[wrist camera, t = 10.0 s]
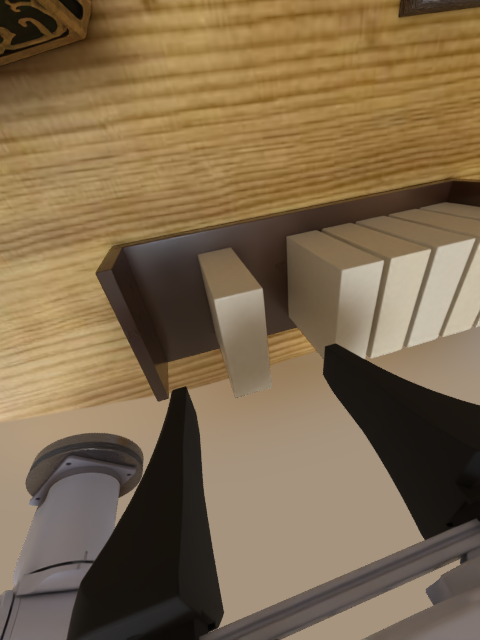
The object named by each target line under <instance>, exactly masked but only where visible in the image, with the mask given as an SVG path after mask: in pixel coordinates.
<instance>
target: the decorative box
mask: <svg viewBox="0 0 480 640" xmlns="http://www.w3.org/2000/svg"><path fill="white" fill-rule="evenodd" d="M91 8H92V6H91V2H90V0H0V66H2V65H5V64H8V63H11V62H14V61H17V60H20V59H23V58H26V57H30V56H33V55H36V54H39V53H42V52H45V51H48V50H51V49H54V48H57V47H60V46H64V45H67V44H70V43H73V42H76V41H79V40H82V39H84V38H85V37H86V35H87V29H88V24H89V19H90V14H91Z"/></svg>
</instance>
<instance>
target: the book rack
mask: <svg viewBox="0 0 480 640" xmlns="http://www.w3.org/2000/svg"><path fill="white" fill-rule="evenodd" d="M444 202H448V203H455V204H462V205H469V206H476V207H480V180H473V179H453V178H452V179H447V180H442V181H437V182H432V183H427V184H422V185H417V186H412V187H407V188H402V189H397V190H392V191H387V192H382V193H377V194H372V195H367V196H362V197H357V198H352V199H347V200H342V201H337V202H332V203H327V204H322V205H317V206H312V207H307V208H302V209H297V210H292V211H287V212H282V213H277V214H272V215H267V216H262V217H257V218H252V219H247V220H242V221H237V222H232V223H227V224H222V225H217V226H212V227H207V228H202V229H197V230H192V231H187V232H182V233H177V234H172V235H167V236H163V237H158V238H153V239H148V240H143V241H138V242H133V243H128V244H123V245H118V246H113V247H112V248H111V249H110V250H109V252H108V253H107V255H106V257H105V258H104V260H103V262H102V263H101V265H100V266H99V268H98V270H97V271H96V276H97V278H98V280H99V282H100V284H101V286H102V288H103V290H104V292H105V294H106V296H107V298H108V300H109V302H110V304H111V306H112V308H113V310H114V313H115V315H116V317H117V319H118V321H119V323H120V325H121V327H122V329H123V331H124V333H125V335H126V337H127V339H128V341H129V343H130V345H131V347H132V349H133V352H134V354H135V356H136V358H137V360H138V362H139V364H140V366H141V368H142V370H143V372H144V374H145V376H146V378H147V380H148V382H149V384H150V386H151V388H152V391H153V393H154V395H155V397H156V399H157V401H162V400H165V399H168V398H169V387H168V362H170V361H174V360H178V359H182V358H185V357H189V356H193V355H196V354H200V353H204V352H208V351H211V350H215V349H219V348H220V346H219V343H218V340H217V336H216V333H215V328H214V324H213V320H212V315H211V311H210V307H209V303H208V298H207V294H206V290H205V286H204V281H203V277H202V273H201V268H200V264H199V260H198V254H202V253H206V252H211V251H216V250H220V249H225V248H232V250H233V251H234V252H235V254H236V255H237V256H238V257H239V259H240V260H241V261H242V263H243V264H244V265H245V266H246V268H247V269H248V270H249V272H250V273H251V274H252V275H253V277H254V278H255V279H256V281H257V282H258V283H259V284H260V286H261V287H262V288H263V297H264V307H265V318H266V329H267V335H271V334H275V333H278V332H282V331H286V330H290V329H293V328H297V326H296V325H295V323H294V322H293V321H292V320H291V319H290V317H289V309H288V275H287V241H286V237H287V236H291V235H295V234H300V233H305V232H309V231H314V230H317V231H320V232H322V229H323V228H328V227H333V226H337V225H342V224H347V223H353V224H356V222H357V221H361V220H366V219H370V218H375V217H380V216H387V217H388V215H389V214H393V213H398V212H403V211H407V210H412V209H419V210H420V208H421V207H426V206H430V205H435V204H440V203H444Z"/></svg>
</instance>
